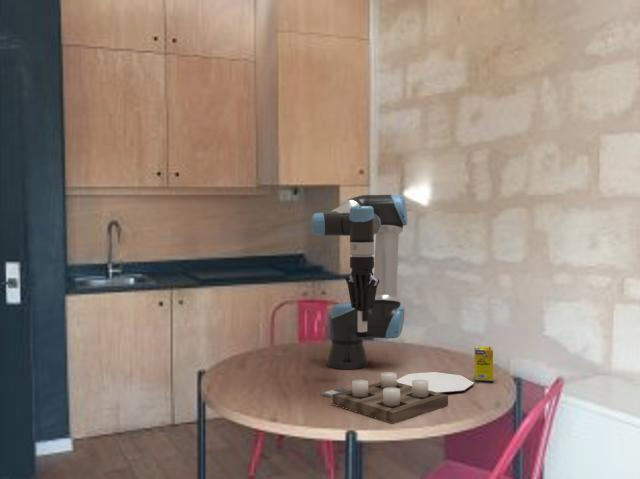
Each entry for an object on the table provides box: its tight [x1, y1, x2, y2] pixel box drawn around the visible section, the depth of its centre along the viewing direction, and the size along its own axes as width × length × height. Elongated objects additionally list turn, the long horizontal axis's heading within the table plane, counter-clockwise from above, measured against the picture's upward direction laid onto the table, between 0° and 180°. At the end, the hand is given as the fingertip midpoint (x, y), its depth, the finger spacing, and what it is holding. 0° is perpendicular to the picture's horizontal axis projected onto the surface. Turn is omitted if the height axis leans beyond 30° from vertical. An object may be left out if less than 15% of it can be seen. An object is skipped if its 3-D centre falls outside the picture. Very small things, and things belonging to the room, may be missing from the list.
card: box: [320, 387, 350, 399], centre depth 210 cm, size 9×9×1 cm
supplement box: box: [473, 346, 494, 384], centre depth 224 cm, size 6×6×11 cm
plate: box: [397, 371, 474, 394], centre depth 220 cm, size 24×24×2 cm
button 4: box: [412, 380, 428, 397], centre depth 198 cm, size 5×5×4 cm
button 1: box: [351, 378, 369, 397], centre depth 199 cm, size 5×5×4 cm
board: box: [332, 381, 449, 424], centre depth 198 cm, size 24×24×3 cm
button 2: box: [380, 371, 398, 388], centre depth 207 cm, size 5×5×4 cm
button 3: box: [383, 388, 400, 406], centre depth 189 cm, size 5×5×4 cm
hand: (362, 331), depth 208 cm, fingers closed
